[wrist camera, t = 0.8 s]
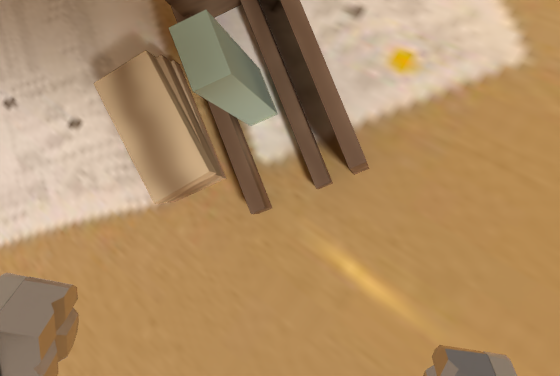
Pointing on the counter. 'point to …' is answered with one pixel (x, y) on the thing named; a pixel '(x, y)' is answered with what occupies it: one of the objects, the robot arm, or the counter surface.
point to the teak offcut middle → (185, 104)
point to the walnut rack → (189, 3)
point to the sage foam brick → (221, 69)
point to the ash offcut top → (154, 128)
